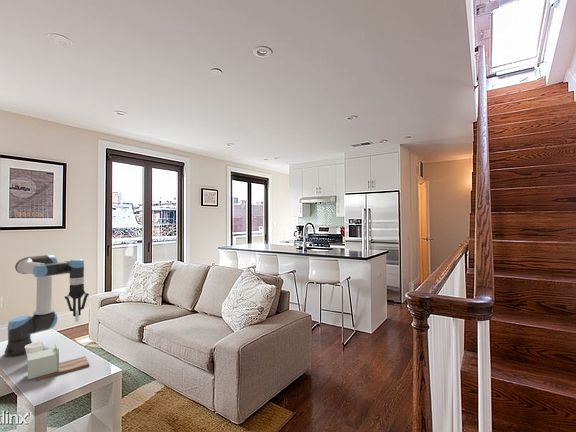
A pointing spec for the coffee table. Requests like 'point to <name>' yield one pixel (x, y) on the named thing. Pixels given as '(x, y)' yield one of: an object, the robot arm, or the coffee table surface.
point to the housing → (43, 362)
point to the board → (68, 367)
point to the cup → (34, 347)
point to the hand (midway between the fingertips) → (76, 321)
